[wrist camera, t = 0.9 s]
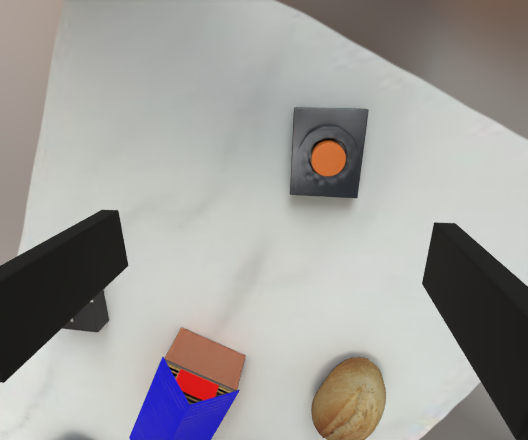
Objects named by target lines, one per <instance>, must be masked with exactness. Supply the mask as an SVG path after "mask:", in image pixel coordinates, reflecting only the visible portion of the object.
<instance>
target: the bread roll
mask: <svg viewBox="0 0 528 440" xmlns="http://www.w3.org/2000/svg"><path fill="white" fill-rule="evenodd" d="M385 402H386V391H385V385H384V381H383V378H382V374H381V372H380V370H379V368H378V367H377V366H376V365H375V364H374V363H373V362H371V361H370V360H368V358H367V359H366V358H361V357H359V358H350V359H347V360H345V361H344V362H342V363H341V364H339V365H338V366H337V367H336V368H335V369H334V370H333V371H332V372H331V373H330V375H329V376H328V377H327V379H326V380H325V381H324V383H323V384H322V386H321V387H320V389H319V390H318V392H317V393H316V395H315V397H314V399H313V401H312V408H311V411H312V419H313V423H314V425H315V428H316V429H317V431H318V433H319V434H320V435H321V436H322V437H323V438H326V439H327V440H365V439H366V438H367V437H368V436H369V435H370V434H371V433H372V432H373V431H374V430H375V428H376V426H377V425H378V423H379V421H380V419H381V417H382V414H383V411H384V408H385Z"/></svg>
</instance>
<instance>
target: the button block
mask: <svg viewBox="0 0 528 440" xmlns="http://www.w3.org/2000/svg"><path fill="white" fill-rule="evenodd" d="M368 111H369V110H368V109H356V108H311V107H295V108H294V123H293V143H292V164H291V185H290V195H308V196H326V197H345V198H357V196H358V188H359V180H360V173H361V165H362V157H363V149H364V142H365V134H366V126H367V118H368ZM327 140H330V141H334V142H336V143H338V144H339V145H340V146H341V147H342V149H343V150H344V152H345V155H346V162H345V165H344V167H343V169H342V170H341V171H340V172H339V173H338V174H336V175H333V176H322V175H320V174H318V173H317V172H316V171H315V170H314V168H313V166H312V163H311V154H312V151H313V149H314V148H315V146H316V145H317V144H319V143H320V142H323V141H327Z"/></svg>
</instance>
